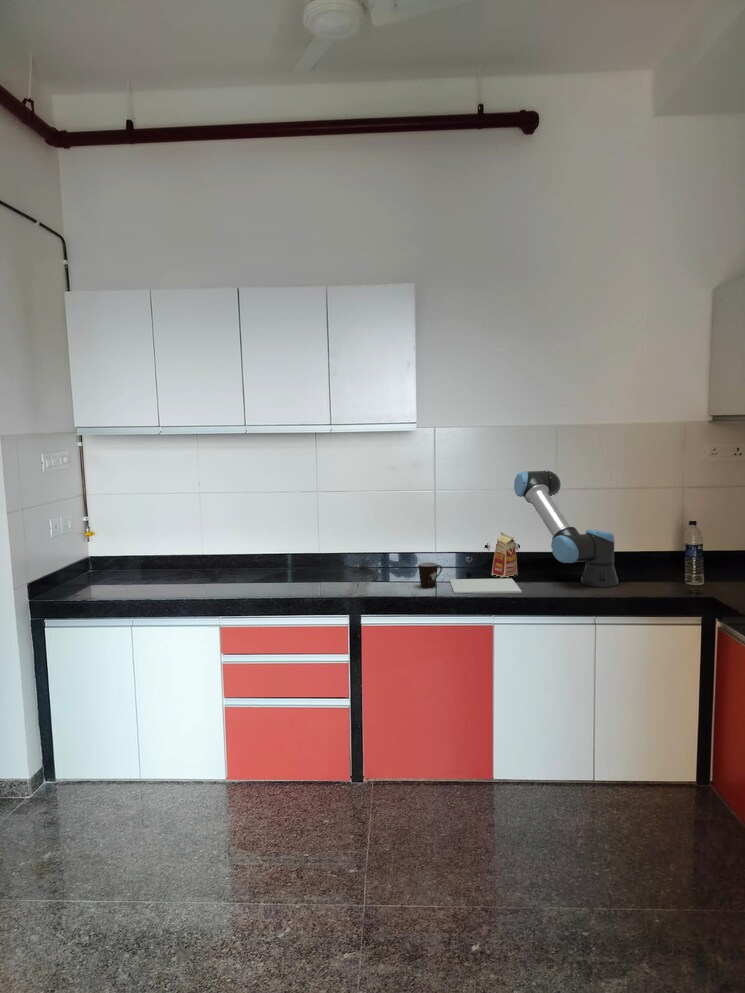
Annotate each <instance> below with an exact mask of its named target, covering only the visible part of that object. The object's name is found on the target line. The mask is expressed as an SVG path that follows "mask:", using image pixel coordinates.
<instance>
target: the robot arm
mask: <svg viewBox="0 0 745 993" xmlns="http://www.w3.org/2000/svg"><path fill="white" fill-rule="evenodd" d="M546 471H547V472H546ZM550 477H551V478H550ZM513 482H514V484H513V489H514V492H515V495H516V496H517V497H520V498H522V497H523V498H524V499H525V500H526V501H527V502H528V503H531V504H533V506H534V507H535V509H536V511H535V512H537V514H538V515H539V517H540V518H541V520H542V522H543V523H544V525H545V526H546V528H547V529H548V531H549V533H550V534H551V536H552V538H551V544H550V546H551V547H550V548H551V553H552V555H553V556H554V558H555V559H556V560H557V561H558V562H561V563H564V564H566V563H567V564H568V563H569V564H572V563H573V564H574V563H578V562H585V566H584V569H583V572H582V574H581V575H582V576H581V578H580V580H581V581H580V582H581V584H583V585H584V586H590V587H596V588H611V587H617V586H618V585H619V578H618V575H617V572H616V568H615V535H614V533H612V532H610V531H605V530H597V529H586V530H585V533H580V532H579V531H578V529H577V528H576V526H575V527H574V526H570V525H571V524H569V522H568V521H567V519H566V518H565V516H564V515H563V513H562V512H561V511H560V509H559V508H558V506H557V505H556V503H555V501H554V500H553V498H551V497H550V496H552V495H555V494H556V493H557V494H558V493H559V492H560V489H561V484H562V483H561V479H560V477H559V476H558V474H556V473H555V472H553V471H550V470H532V471H531V470H529V471H527V470H526V471H521V472H518V473H517V474H516V476H515V478H514V481H513ZM558 491H559V492H558ZM557 494H556V495H557ZM556 495H555V496H556ZM485 548H487V551H488V552H490V550H491V547H490V545H489V543H487V545H485V547H484V549H485ZM515 549H516V551H517V552H519V551H520V550H519V549H521V548H520V545H519V544H517V543H515Z"/></svg>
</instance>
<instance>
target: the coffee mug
mask: <svg viewBox="0 0 745 993" xmlns="http://www.w3.org/2000/svg"><path fill="white" fill-rule="evenodd" d="M417 566H418V576H419V582H420V588H422V587H423V588H422V589H426V588H431V589H434V588H433V587H435V588H436V585H437V578H438V577H439V576H440V574H441V573H442V570H443V568H442V565H441V564H440V565H439V564H438V563H437V562H429V561H427V562H426V561H425V562H420V563H418V564H417ZM438 567H440V568H439V569H440V570H439V572H438Z"/></svg>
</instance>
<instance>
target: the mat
mask: <svg viewBox="0 0 745 993" xmlns="http://www.w3.org/2000/svg"><path fill="white" fill-rule="evenodd" d="M449 584H450V586H451V588H453V589H452V592H453V591H454V592H453V594H454V593H475V594H522V593H523V591H522V589H521V588H520V587H519V586H518V584H517V583H516V582H515V580H514V579H513V578H461V579H460V578H457V579H456V578H454V579H453V578H450V579H449Z"/></svg>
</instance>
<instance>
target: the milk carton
mask: <svg viewBox="0 0 745 993" xmlns="http://www.w3.org/2000/svg"><path fill="white" fill-rule="evenodd" d="M514 538H515V537H514V536H511V535H508V534H504V533H502V532H501V536H500V537H499V538H498V539H497V544H496V548H495V550H494V555H493V561H492V569H491V576H493V575H496V576H495V577H497V576H500V577H499V578H503V577H506V578H510V577H509V576H514V575H516V574H517V575H518V562H517V560H518V559H517V552H516V551H517V550H516V549H515V542H514V541H515V539H514ZM517 575H516V576H517ZM514 577H515V576H514Z"/></svg>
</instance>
